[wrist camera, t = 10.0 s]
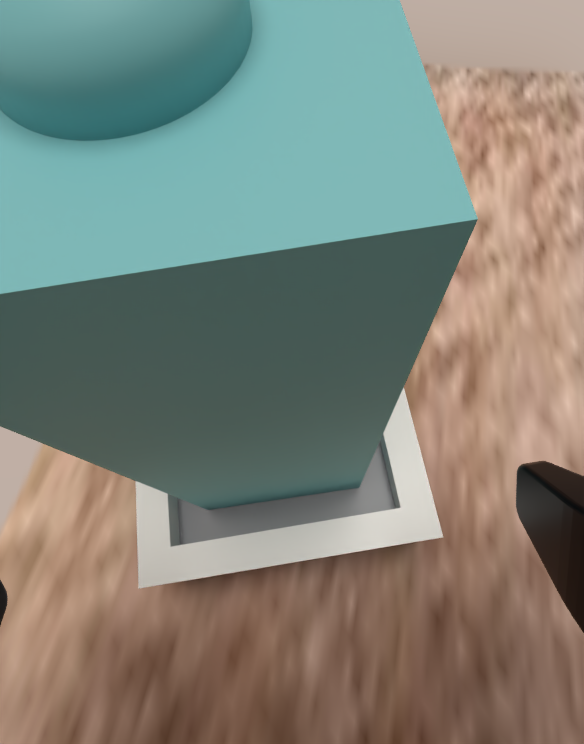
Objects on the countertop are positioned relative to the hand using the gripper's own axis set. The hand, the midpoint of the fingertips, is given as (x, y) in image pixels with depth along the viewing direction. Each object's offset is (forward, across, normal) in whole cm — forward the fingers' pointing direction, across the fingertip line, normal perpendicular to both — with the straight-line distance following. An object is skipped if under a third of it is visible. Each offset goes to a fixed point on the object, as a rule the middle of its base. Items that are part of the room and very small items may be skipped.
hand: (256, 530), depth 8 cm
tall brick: (+8, 0, +2) cm, 8 cm away
